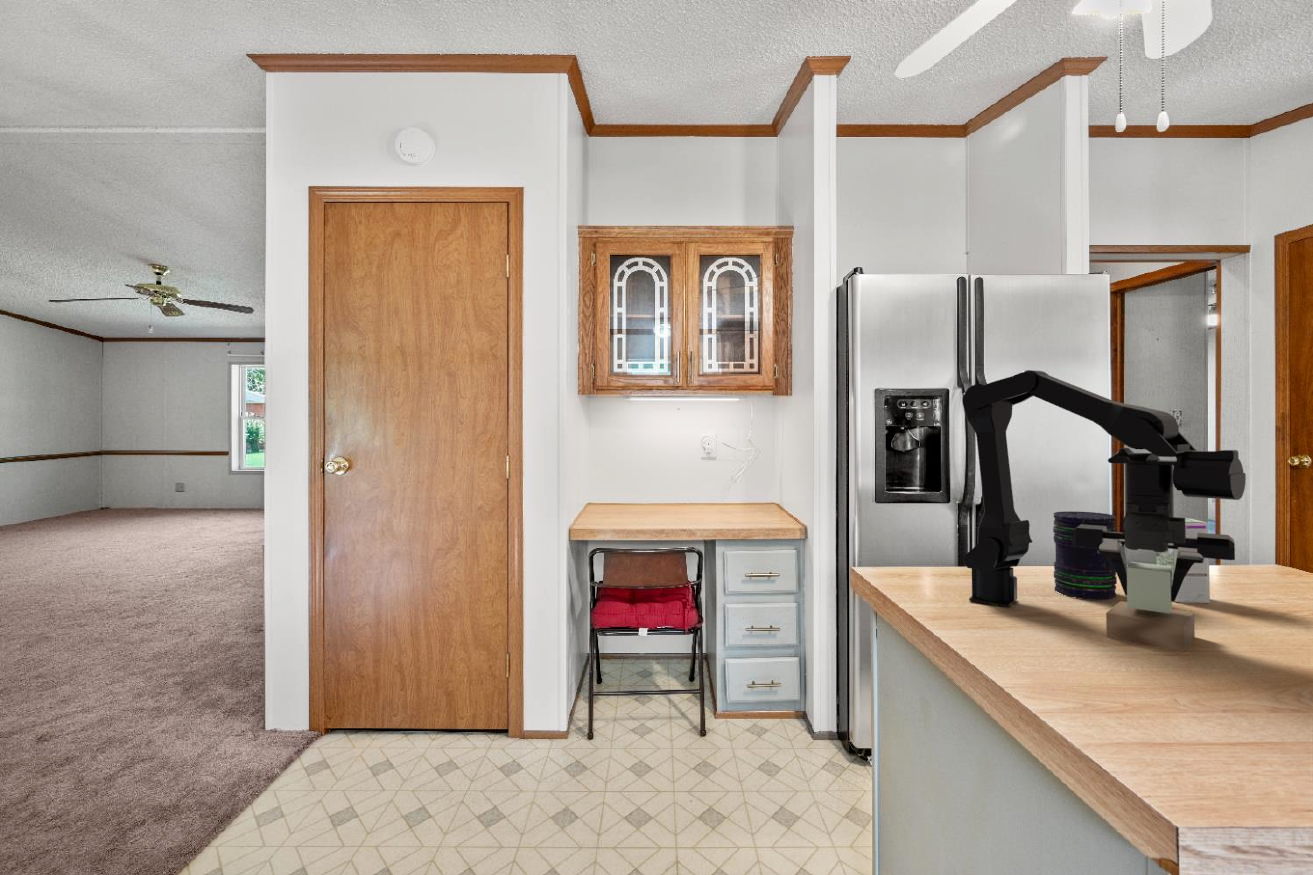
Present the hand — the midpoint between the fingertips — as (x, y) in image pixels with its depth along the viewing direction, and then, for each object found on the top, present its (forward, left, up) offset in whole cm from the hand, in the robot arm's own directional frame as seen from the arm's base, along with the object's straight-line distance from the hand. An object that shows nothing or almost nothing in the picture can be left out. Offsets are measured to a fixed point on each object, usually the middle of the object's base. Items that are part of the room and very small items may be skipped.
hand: (1149, 598), depth 93 cm
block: (0, 0, -6) cm, 6 cm away
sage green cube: (0, 0, -1) cm, 1 cm away
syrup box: (+3, +29, -6) cm, 30 cm away
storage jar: (-11, +23, -6) cm, 26 cm away
